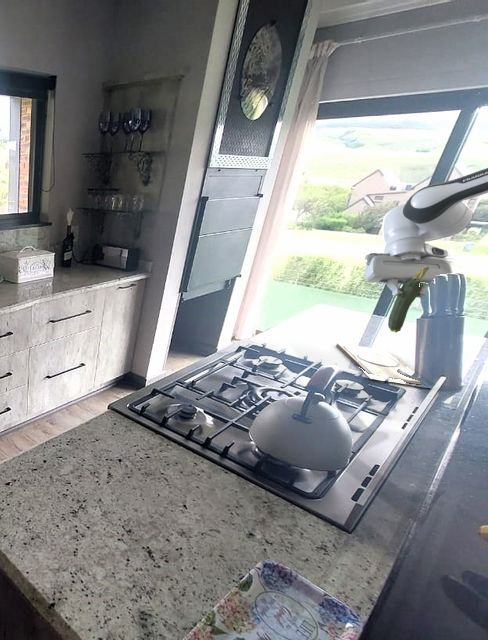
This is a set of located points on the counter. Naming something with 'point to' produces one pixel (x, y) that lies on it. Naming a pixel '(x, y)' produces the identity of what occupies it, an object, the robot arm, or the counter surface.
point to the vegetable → (405, 300)
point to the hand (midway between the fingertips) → (409, 295)
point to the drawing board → (376, 362)
